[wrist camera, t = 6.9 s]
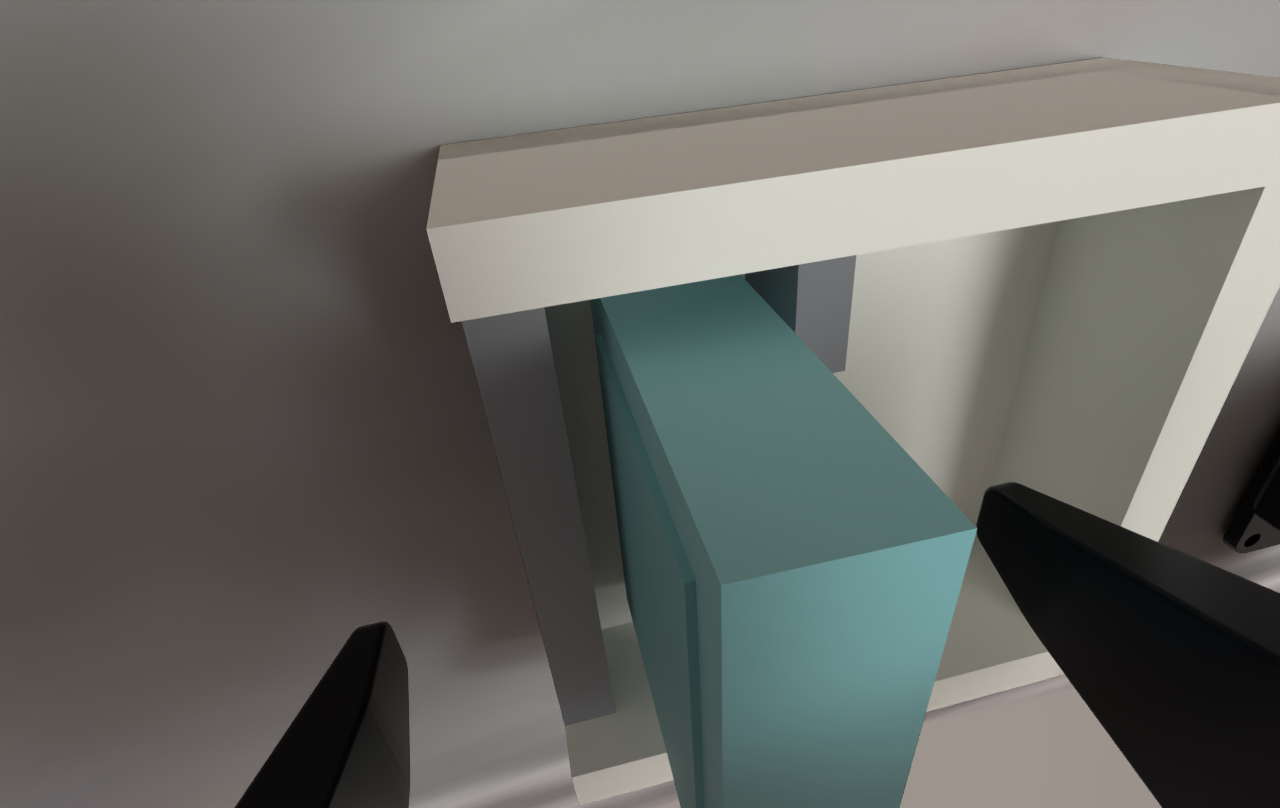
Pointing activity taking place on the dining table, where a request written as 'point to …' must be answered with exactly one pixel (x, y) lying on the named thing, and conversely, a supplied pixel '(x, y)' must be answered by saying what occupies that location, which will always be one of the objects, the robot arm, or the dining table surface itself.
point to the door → (770, 554)
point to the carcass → (875, 315)
